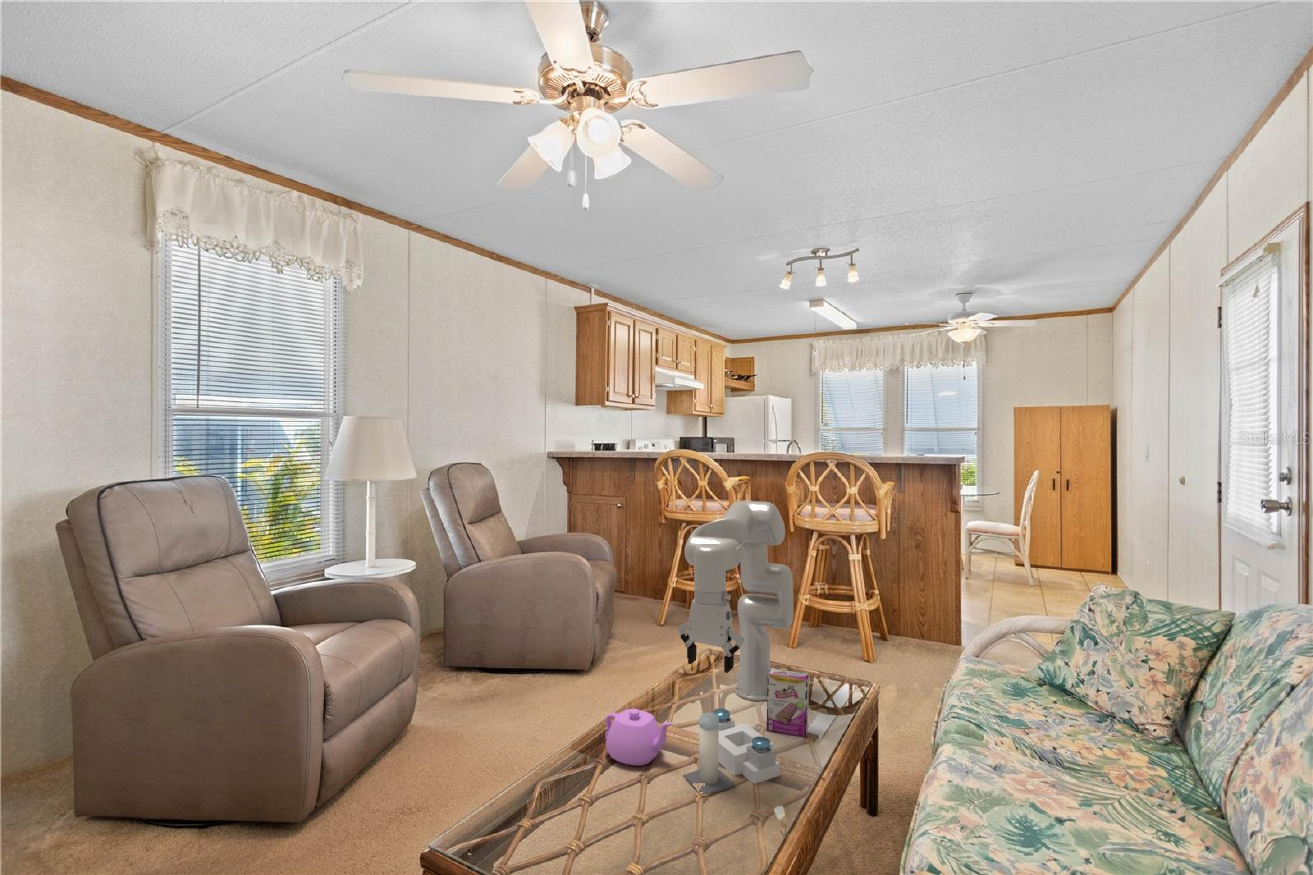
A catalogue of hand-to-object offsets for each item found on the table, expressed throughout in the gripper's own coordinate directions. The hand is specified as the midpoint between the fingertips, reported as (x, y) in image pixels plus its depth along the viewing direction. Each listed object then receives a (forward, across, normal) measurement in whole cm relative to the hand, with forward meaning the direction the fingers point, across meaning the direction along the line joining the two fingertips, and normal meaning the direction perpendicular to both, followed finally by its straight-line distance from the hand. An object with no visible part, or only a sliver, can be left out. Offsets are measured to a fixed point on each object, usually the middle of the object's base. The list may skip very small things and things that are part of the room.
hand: (709, 666), depth 147 cm
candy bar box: (+29, -8, -32) cm, 44 cm away
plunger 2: (+25, -10, -8) cm, 28 cm away
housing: (+28, -2, -13) cm, 31 cm away
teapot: (+28, +20, +1) cm, 35 cm away
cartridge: (+27, 0, +1) cm, 27 cm away
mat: (+28, 0, +1) cm, 28 cm away
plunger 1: (+25, +5, -17) cm, 31 cm away
